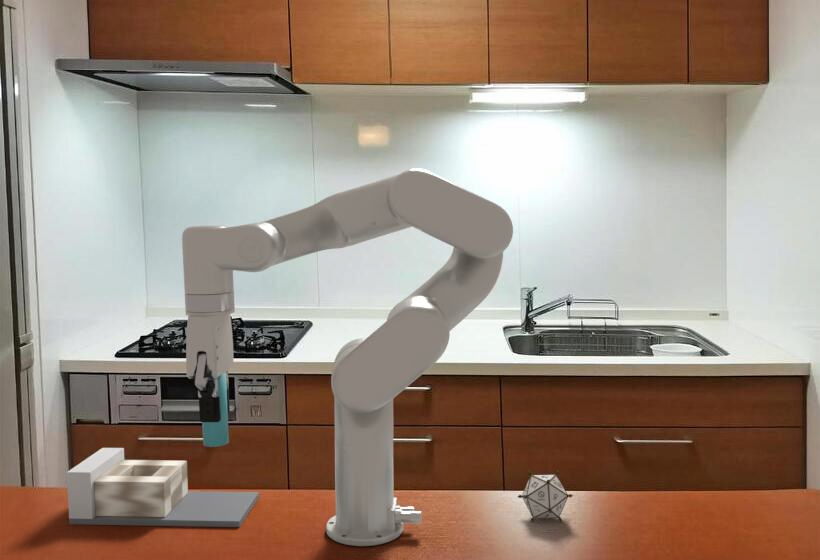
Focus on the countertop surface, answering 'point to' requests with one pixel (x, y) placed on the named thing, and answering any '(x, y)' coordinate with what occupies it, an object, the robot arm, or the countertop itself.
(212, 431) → the dowel
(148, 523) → the track
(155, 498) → the block
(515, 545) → the countertop surface
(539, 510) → the game die
